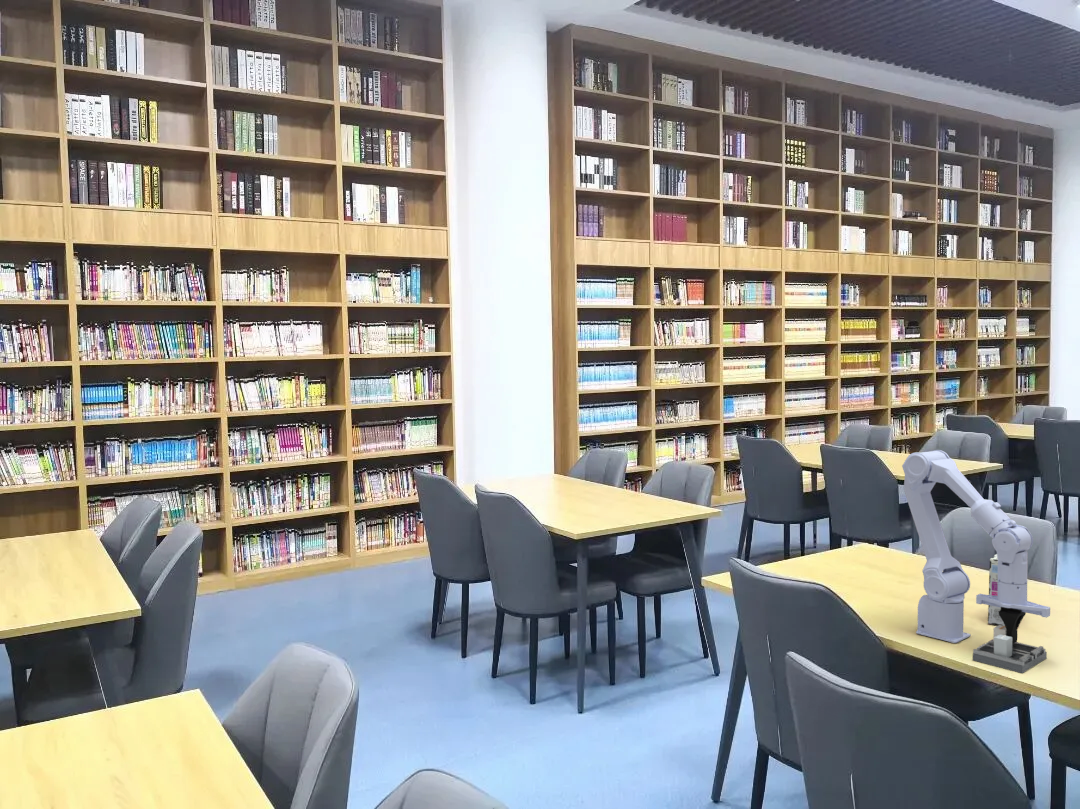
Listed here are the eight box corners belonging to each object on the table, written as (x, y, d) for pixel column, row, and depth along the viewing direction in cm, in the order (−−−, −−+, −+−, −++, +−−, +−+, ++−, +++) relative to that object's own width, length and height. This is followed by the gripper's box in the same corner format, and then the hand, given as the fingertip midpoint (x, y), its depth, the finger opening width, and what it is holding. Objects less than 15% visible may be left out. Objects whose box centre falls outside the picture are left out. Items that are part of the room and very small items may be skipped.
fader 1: (993, 645, 184) (993, 627, 184) (999, 642, 186) (999, 624, 186) (1005, 648, 182) (1005, 630, 182) (1010, 645, 184) (1011, 627, 184)
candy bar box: (1010, 628, 201) (1011, 561, 200) (987, 624, 204) (988, 559, 203) (1018, 617, 209) (1019, 553, 208) (996, 613, 212) (997, 550, 211)
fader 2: (993, 655, 178) (994, 636, 178) (999, 652, 180) (1000, 633, 180) (1006, 658, 176) (1006, 639, 176) (1012, 655, 178) (1012, 636, 178)
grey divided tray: (972, 660, 180) (972, 648, 180) (998, 646, 188) (998, 635, 188) (1022, 673, 172) (1022, 660, 172) (1046, 658, 180) (1046, 646, 180)
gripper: (970, 578, 185) (969, 638, 186) (1041, 591, 174) (1040, 654, 174) (983, 572, 189) (983, 631, 190) (1054, 585, 178) (1053, 647, 179)
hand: (1011, 642), depth 182 cm, fingers closed
